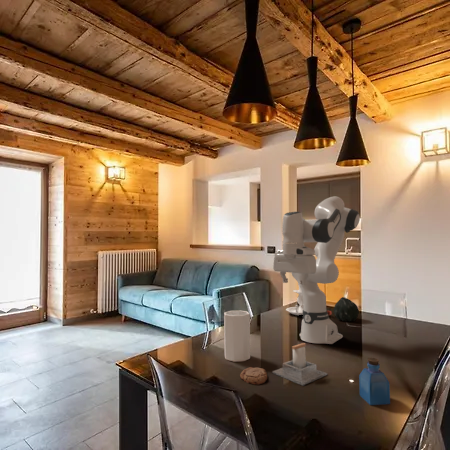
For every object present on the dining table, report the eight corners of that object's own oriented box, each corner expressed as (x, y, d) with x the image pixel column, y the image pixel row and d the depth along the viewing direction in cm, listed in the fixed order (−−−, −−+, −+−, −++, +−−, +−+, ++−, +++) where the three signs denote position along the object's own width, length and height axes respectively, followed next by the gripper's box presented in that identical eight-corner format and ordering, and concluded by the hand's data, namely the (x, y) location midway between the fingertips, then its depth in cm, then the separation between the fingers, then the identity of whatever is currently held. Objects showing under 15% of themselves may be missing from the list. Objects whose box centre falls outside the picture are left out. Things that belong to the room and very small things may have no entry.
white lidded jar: (288, 372, 120) (288, 345, 120) (300, 368, 124) (299, 341, 124) (298, 376, 116) (298, 348, 117) (310, 371, 120) (309, 344, 121)
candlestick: (280, 317, 210) (279, 273, 211) (290, 310, 232) (289, 270, 233) (312, 320, 200) (311, 274, 202) (320, 312, 223) (319, 271, 224)
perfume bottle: (359, 395, 103) (358, 356, 104) (378, 394, 103) (377, 355, 104) (370, 405, 97) (368, 363, 97) (390, 404, 97) (388, 362, 98)
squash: (361, 309, 207) (344, 291, 209) (365, 315, 192) (347, 295, 194) (343, 323, 209) (327, 305, 211) (347, 330, 194) (329, 311, 197)
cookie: (249, 387, 110) (249, 378, 110) (235, 375, 120) (235, 367, 120) (274, 382, 114) (274, 373, 114) (259, 371, 124) (259, 363, 124)
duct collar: (296, 364, 130) (296, 354, 130) (327, 374, 119) (327, 364, 119) (272, 373, 121) (272, 363, 121) (303, 385, 110) (302, 374, 110)
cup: (232, 364, 130) (231, 317, 131) (219, 355, 140) (219, 311, 141) (255, 359, 136) (255, 313, 137) (241, 351, 145) (241, 309, 146)
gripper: (269, 250, 142) (270, 282, 142) (308, 250, 126) (309, 286, 126) (279, 249, 146) (280, 280, 146) (318, 250, 130) (319, 285, 130)
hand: (294, 283), depth 136 cm, fingers open, 8 cm apart
